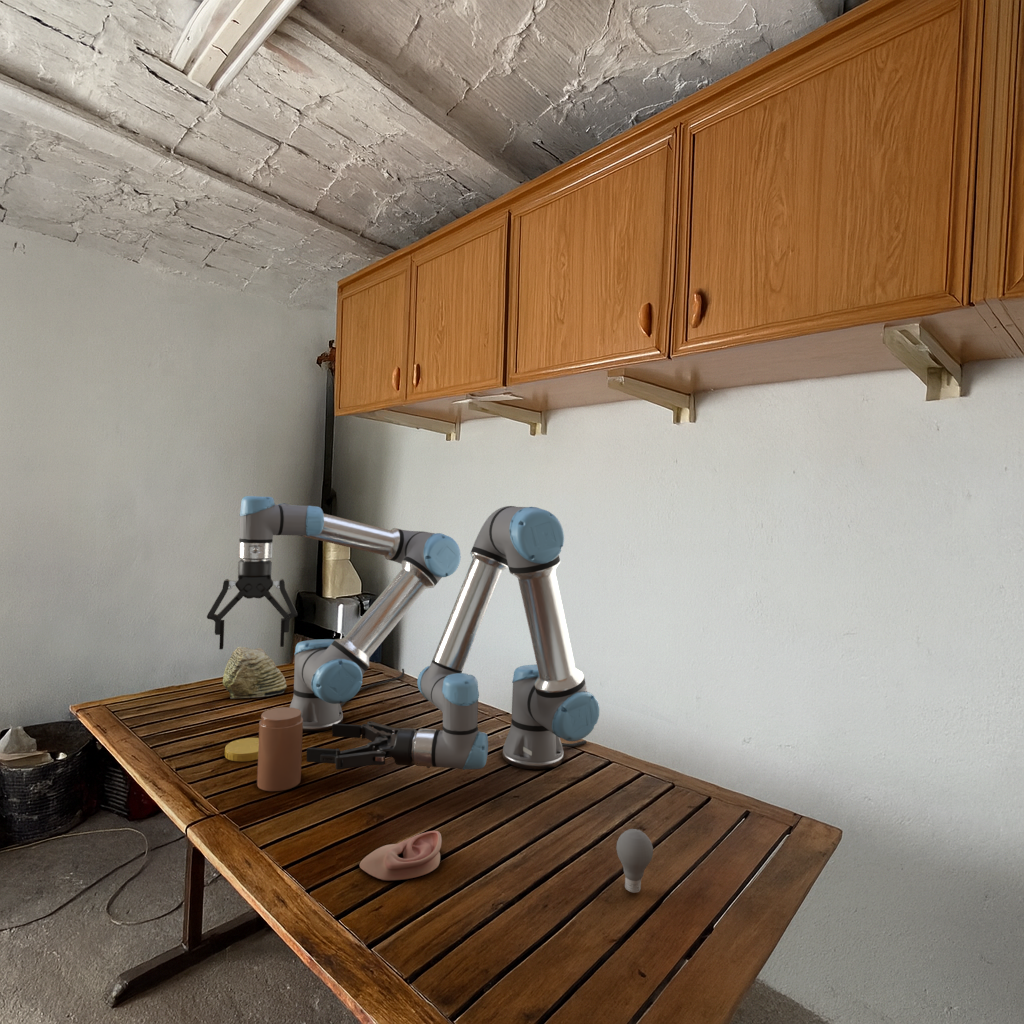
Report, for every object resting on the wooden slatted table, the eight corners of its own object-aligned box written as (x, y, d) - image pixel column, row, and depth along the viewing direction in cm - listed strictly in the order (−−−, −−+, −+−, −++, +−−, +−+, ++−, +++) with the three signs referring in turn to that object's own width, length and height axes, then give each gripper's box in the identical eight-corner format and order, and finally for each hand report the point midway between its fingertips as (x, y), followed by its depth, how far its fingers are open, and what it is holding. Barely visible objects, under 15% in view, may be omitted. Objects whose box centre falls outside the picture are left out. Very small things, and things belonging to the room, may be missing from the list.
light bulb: (610, 879, 108) (613, 822, 108) (644, 879, 109) (647, 822, 109) (619, 902, 102) (622, 840, 102) (655, 901, 103) (658, 840, 103)
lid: (255, 763, 148) (255, 755, 148) (215, 759, 150) (215, 751, 150) (277, 747, 158) (278, 739, 158) (240, 743, 160) (240, 735, 160)
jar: (263, 772, 144) (266, 706, 144) (304, 772, 145) (307, 706, 144) (251, 791, 135) (253, 720, 134) (295, 791, 136) (298, 720, 135)
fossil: (218, 695, 195) (220, 647, 195) (278, 685, 208) (279, 640, 207) (228, 703, 189) (230, 653, 188) (289, 692, 201) (290, 645, 201)
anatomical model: (352, 851, 106) (379, 818, 118) (351, 875, 106) (379, 839, 118) (427, 864, 104) (448, 829, 115) (426, 888, 104) (447, 850, 115)
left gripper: (196, 561, 145) (193, 653, 146) (310, 561, 155) (307, 648, 155) (199, 557, 152) (196, 645, 153) (308, 558, 162) (305, 641, 162)
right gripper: (399, 791, 124) (295, 784, 126) (429, 741, 149) (341, 736, 151) (399, 753, 124) (295, 747, 126) (429, 710, 148) (342, 705, 151)
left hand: (252, 647), depth 154 cm, fingers open, 13 cm apart
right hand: (320, 741), depth 138 cm, fingers open, 13 cm apart
